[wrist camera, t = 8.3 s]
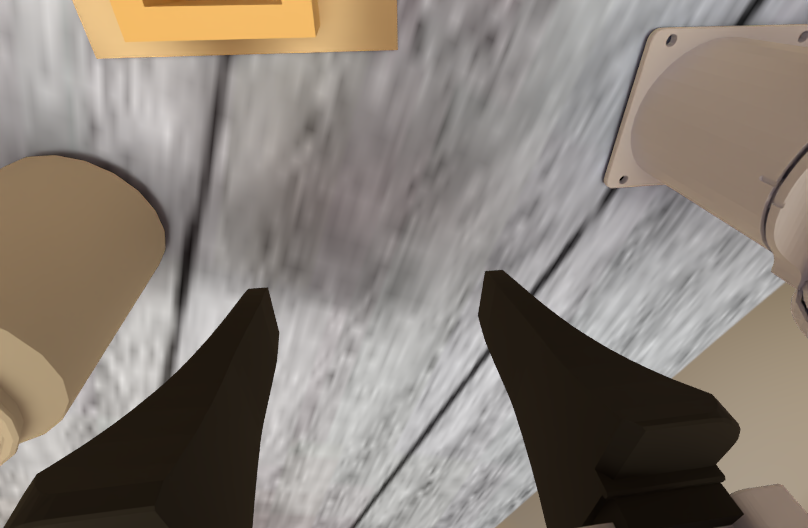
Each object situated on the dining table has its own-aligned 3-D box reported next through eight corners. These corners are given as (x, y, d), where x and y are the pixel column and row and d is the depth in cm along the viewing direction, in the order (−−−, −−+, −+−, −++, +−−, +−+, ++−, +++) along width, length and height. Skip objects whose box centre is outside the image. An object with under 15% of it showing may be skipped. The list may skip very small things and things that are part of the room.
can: (104, 295, 23) (-61, 520, 14) (-37, 198, 19) (-420, 425, 9) (202, 236, 22) (96, 439, 12) (74, 117, 18) (-244, 285, 8)
